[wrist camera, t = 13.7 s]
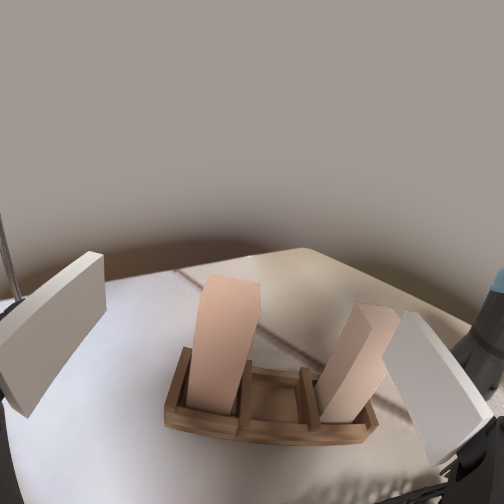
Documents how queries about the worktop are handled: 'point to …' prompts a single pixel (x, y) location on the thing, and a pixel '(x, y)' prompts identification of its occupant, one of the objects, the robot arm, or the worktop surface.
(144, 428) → the worktop surface
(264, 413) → the rack
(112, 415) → the worktop surface
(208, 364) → the clay bar
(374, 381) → the clay bar
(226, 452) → the worktop surface
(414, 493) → the decorative element
